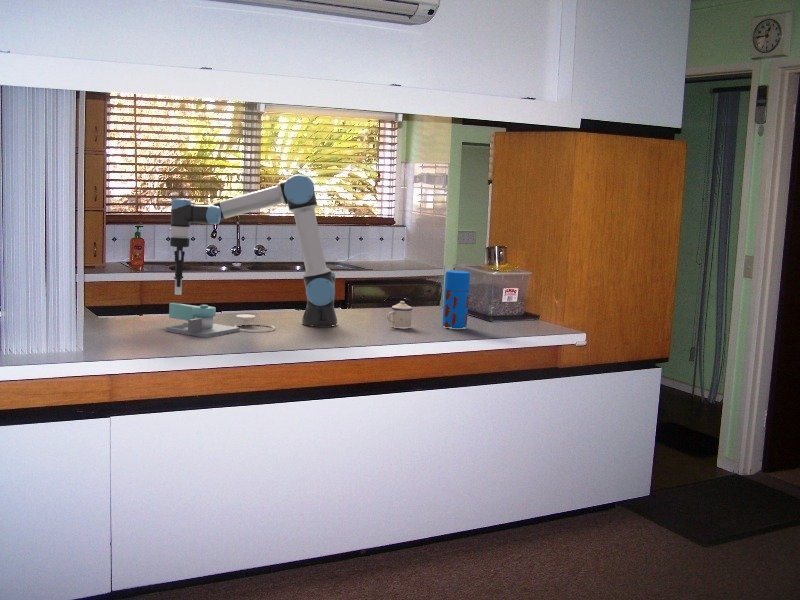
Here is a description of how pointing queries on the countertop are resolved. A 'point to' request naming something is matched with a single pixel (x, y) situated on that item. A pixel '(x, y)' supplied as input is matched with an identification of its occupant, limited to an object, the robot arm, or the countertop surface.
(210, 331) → the post board
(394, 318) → the teacup with lid
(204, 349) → the countertop surface
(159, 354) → the countertop surface
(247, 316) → the hand towel holder
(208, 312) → the domed saucepan
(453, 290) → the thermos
